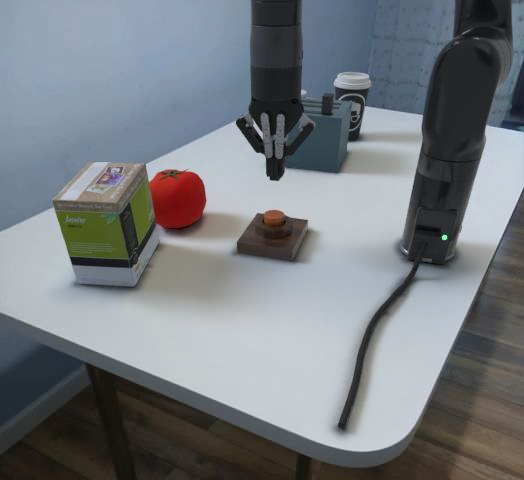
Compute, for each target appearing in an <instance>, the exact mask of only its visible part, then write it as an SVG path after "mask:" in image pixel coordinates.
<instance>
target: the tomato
mask: <svg viewBox="0 0 524 480" xmlns="http://www.w3.org/2000/svg"><path fill="white" fill-rule="evenodd" d="M188 170H189V168H187V169H184V170H179V169H173V168H172V169H169V168H168V169H167V168H166V169H164V170H162V171H157V172H156V174H155V175H154V176H153V178H152V179H151V180H150V181H149V186H150V191H151V197H152V202H153V208H154V214H155V219H156V225H158V226H160V227H162V228H166V229H167V228H168V229H170V228H172V229H180V228H181V229H182V228H184V227H188V226H190V225H192V224H194V223H195V222H197V221H198V220H199V219H200V218H201V217H202V215H203V213H204V212H205V208H206V205H207V193H206V186H205V184H204V180H203V179H202V178H201V176H200V175H199V174H198V173H196V172H194V171H188Z"/></svg>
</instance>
